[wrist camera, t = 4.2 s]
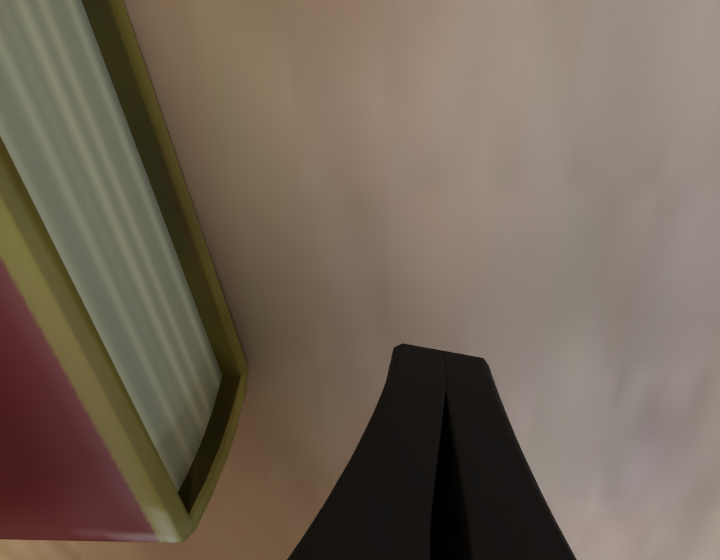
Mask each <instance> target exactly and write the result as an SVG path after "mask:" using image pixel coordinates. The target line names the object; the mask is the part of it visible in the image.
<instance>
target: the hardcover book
mask: <svg viewBox="0 0 720 560" xmlns="http://www.w3.org/2000/svg"><path fill="white" fill-rule="evenodd" d="M247 375H248V366H247V363H246V360H245V357H244V354H243V351H242V348H241V345H240V343H239V340H238V337H237V334H236V331H235V328H234V325H233V322H232V319H231V316H230V313H229V310H228V307H227V304H226V301H225V299H224V296H223V293H222V290H221V287H220V284H219V281H218V278H217V275H216V272H215V269H214V266H213V263H212V260H211V257H210V254H209V252H208V249H207V246H206V243H205V240H204V237H203V234H202V231H201V228H200V225H199V222H198V219H197V216H196V213H195V210H194V208H193V205H192V202H191V199H190V196H189V193H188V190H187V187H186V184H185V181H184V178H183V175H182V172H181V169H180V166H179V164H178V161H177V158H176V155H175V152H174V149H173V146H172V143H171V140H170V137H169V134H168V131H167V128H166V125H165V122H164V120H163V117H162V114H161V111H160V108H159V105H158V102H157V99H156V96H155V93H154V90H153V87H152V84H151V81H150V78H149V76H148V73H147V70H146V67H145V64H144V61H143V58H142V55H141V52H140V49H139V46H138V43H137V40H136V37H135V34H134V32H133V29H132V26H131V23H130V20H129V17H128V14H127V11H126V8H125V5H124V2H123V0H0V539H17V540H68V541H119V542H169V543H184V541H185V540H186V539H187V538H188V537H189V536H190V535H191V534H192V533H193V532H194V531H195V529H196V528H197V526H198V524H199V521H200V519H201V517H202V515H203V513H204V511H205V509H206V507H207V505H208V503H209V501H210V499H211V496H212V494H213V492H214V489H215V487H216V484H217V482H218V479H219V477H220V474H221V472H222V469H223V467H224V464H225V461H226V459H227V456H228V453H229V449H230V446H231V443H232V440H233V437H234V434H235V430H236V427H237V424H238V420H239V416H240V412H241V408H242V404H243V400H244V396H245V392H246V385H247Z"/></svg>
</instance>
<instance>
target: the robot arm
mask: <svg viewBox="0 0 720 560" xmlns="http://www.w3.org/2000/svg"><path fill="white" fill-rule="evenodd" d="M287 560H577V559H576V558H575V556H574V554H573V552H572V550H571V549H570V547H569V545H568V543H567V541H566V539H565V537H564V536H563V534H562V532H561V530H560V528H559V526H558V524H557V522H556V521H555V519H554V517H553V515H552V513H551V511H550V509H549V507H548V505H547V503H546V501H545V499H544V497H543V495H542V493H541V491H540V489H539V486H538V484H537V482H536V480H535V478H534V476H533V474H532V472H531V469H530V467H529V465H528V463H527V461H526V459H525V457H524V455H523V452H522V450H521V448H520V445H519V443H518V441H517V439H516V436H515V434H514V431H513V429H512V427H511V424H510V422H509V419H508V417H507V414H506V412H505V409H504V407H503V404H502V402H501V399H500V396H499V394H498V391H497V388H496V385H495V383H494V380H493V377H492V374H491V371H490V368H489V365H488V364H487V362H486V361H485V360H484V358H480V357H474V356H469V355H463V354H458V353H452V352H447V351H441V350H436V349H430V348H425V347H419V346H414V345H408V344H400V345H398V346H396V347H394V349H393V353H392V357H391V362H390V366H389V371H388V375H387V380H386V383H385V386H384V389H383V391H382V394H381V396H380V399H379V401H378V403H377V406H376V408H375V411H374V413H373V415H372V417H371V419H370V421H369V423H368V425H367V427H366V429H365V431H364V433H363V435H362V437H361V440H360V442H359V444H358V446H357V448H356V450H355V452H354V453H353V455H352V457H351V459H350V461H349V462H348V464H347V466H346V468H345V469H344V471H343V473H342V474H341V476H340V478H339V480H338V481H337V483H336V485H335V486H334V488H333V490H332V492H331V493H330V495H329V497H328V499H327V500H326V502H325V503H324V505H323V507H322V508H321V510H320V511H319V513H318V515H317V516H316V518H315V519H314V521H313V522H312V524H311V525H310V527H309V529H308V530H307V532H306V533H305V535H304V536H303V538H302V539H301V541H300V542H299V543H298V545H297V546H296V548H295V549H294V551H293V552H292V554H291V555H290V557H289V558H288V559H287Z"/></svg>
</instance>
